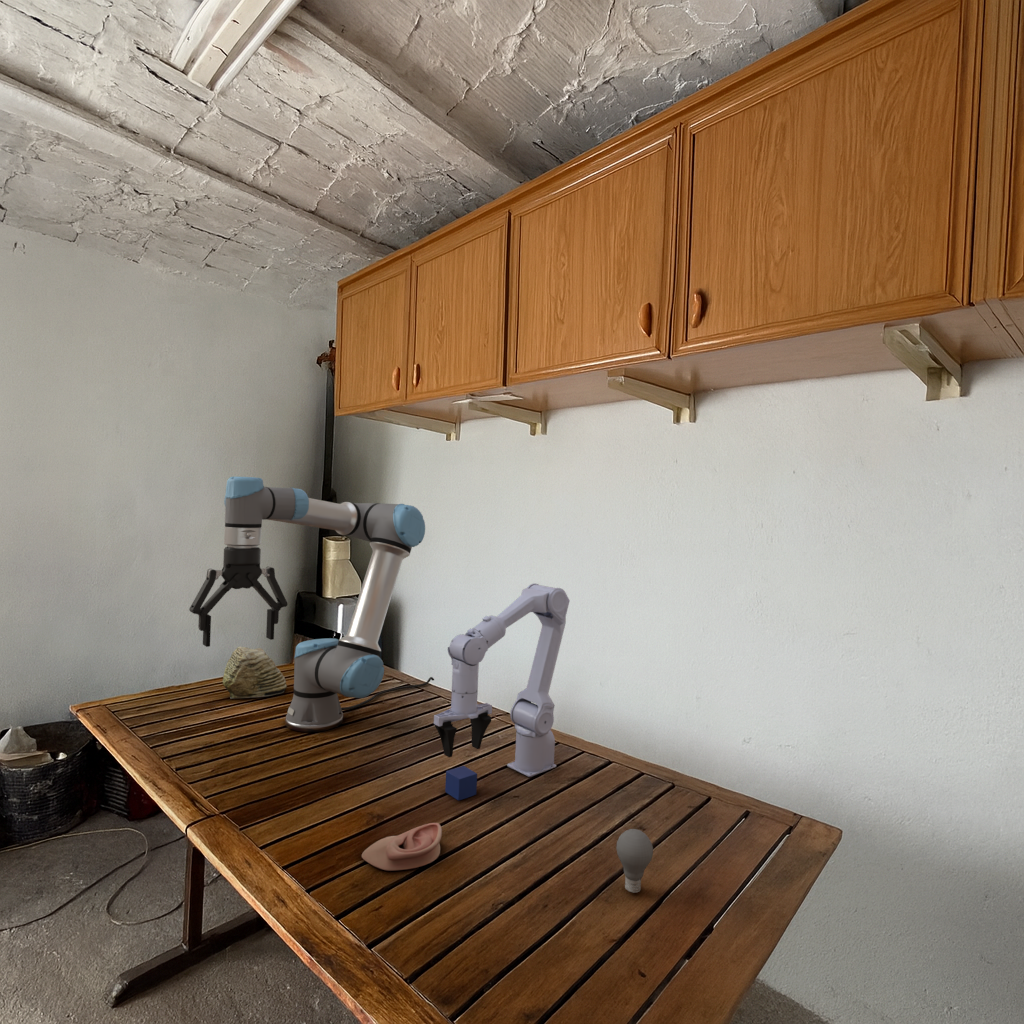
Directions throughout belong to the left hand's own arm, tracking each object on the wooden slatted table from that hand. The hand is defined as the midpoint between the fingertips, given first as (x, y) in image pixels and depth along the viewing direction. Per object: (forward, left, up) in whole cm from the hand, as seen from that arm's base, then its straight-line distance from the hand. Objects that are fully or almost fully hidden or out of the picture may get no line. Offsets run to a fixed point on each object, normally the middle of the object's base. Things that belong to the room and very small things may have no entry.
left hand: (239, 642), depth 141 cm
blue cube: (-29, +42, -30) cm, 59 cm away
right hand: (-30, +41, -22) cm, 55 cm away
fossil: (-33, -50, -30) cm, 67 cm away
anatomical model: (-5, +50, -30) cm, 59 cm away
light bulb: (-24, +86, -30) cm, 94 cm away
